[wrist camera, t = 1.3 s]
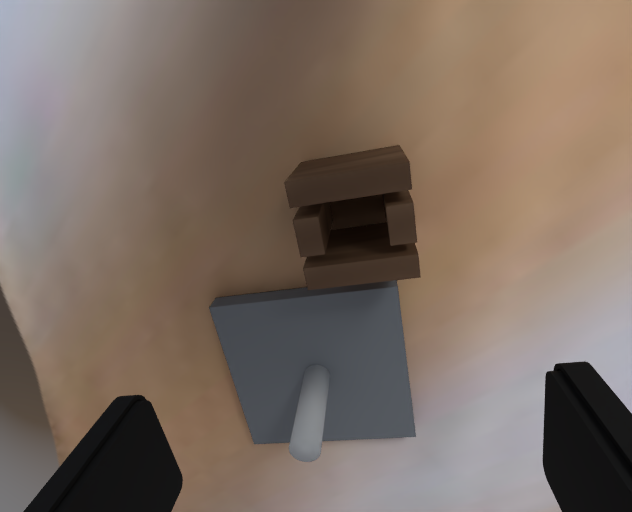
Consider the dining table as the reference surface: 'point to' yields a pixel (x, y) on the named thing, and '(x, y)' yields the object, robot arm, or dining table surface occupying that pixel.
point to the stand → (318, 364)
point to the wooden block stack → (357, 242)
